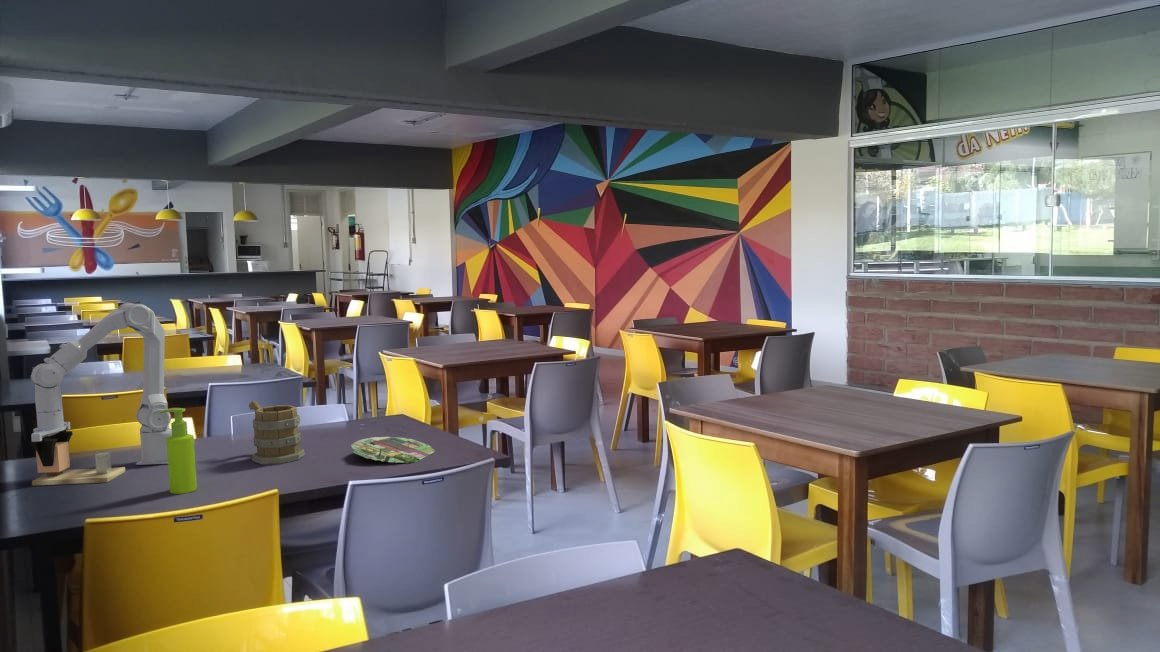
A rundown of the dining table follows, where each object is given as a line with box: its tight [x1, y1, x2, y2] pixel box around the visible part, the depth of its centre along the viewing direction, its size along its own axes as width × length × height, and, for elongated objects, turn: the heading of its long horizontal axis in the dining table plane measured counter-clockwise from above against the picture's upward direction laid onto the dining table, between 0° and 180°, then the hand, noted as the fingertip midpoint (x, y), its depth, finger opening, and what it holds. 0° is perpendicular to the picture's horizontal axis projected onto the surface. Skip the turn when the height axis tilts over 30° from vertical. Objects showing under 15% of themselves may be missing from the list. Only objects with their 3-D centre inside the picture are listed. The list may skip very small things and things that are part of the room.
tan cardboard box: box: [35, 442, 71, 474], centre depth 212 cm, size 5×5×7 cm
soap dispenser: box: [160, 407, 198, 495], centre depth 199 cm, size 6×7×20 cm
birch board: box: [31, 466, 126, 487], centre depth 213 cm, size 18×10×1 cm, turn 95°
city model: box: [350, 436, 436, 465], centre depth 230 cm, size 25×23×6 cm
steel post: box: [94, 451, 113, 474], centre depth 214 cm, size 3×3×5 cm
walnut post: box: [46, 470, 63, 477], centre depth 213 cm, size 3×3×5 cm
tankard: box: [248, 400, 306, 465], centre depth 232 cm, size 20×13×15 cm, turn 47°
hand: (54, 463), depth 213 cm, fingers closed on tan cardboard box, 5 cm apart
